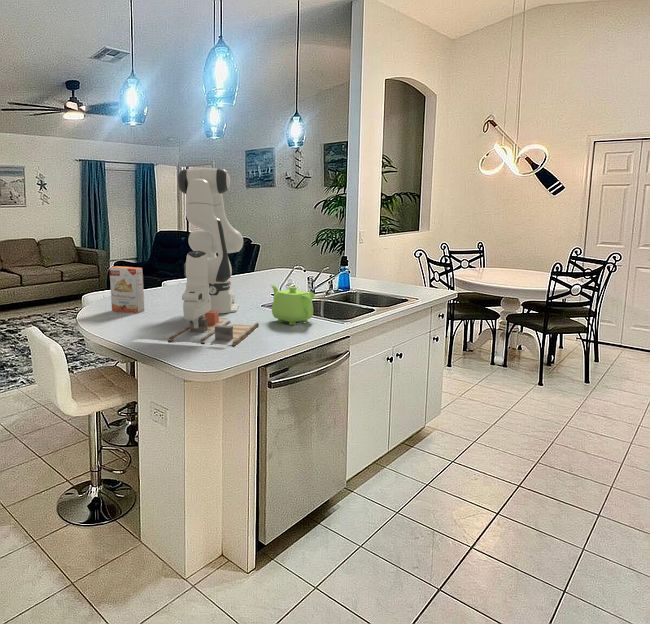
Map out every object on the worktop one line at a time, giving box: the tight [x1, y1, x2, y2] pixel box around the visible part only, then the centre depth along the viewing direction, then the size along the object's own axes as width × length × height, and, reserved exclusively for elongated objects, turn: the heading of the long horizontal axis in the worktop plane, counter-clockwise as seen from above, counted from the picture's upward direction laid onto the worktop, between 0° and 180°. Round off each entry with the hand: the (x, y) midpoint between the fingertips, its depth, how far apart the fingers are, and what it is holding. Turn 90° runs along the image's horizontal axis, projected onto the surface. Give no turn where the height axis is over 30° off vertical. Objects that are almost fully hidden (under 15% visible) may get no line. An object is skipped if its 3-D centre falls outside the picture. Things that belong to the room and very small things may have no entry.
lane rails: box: [168, 320, 260, 347], centre depth 219 cm, size 32×26×2 cm
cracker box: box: [109, 265, 145, 314], centre depth 256 cm, size 14×6×21 cm, turn 76°
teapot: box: [270, 284, 316, 326], centre depth 246 cm, size 25×22×16 cm
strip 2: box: [212, 324, 252, 342], centre depth 218 cm, size 26×8×6 cm, turn 171°
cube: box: [204, 310, 220, 325], centre depth 232 cm, size 5×5×5 cm
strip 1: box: [187, 317, 228, 334], centre depth 229 cm, size 26×8×6 cm, turn 171°
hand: (198, 326), depth 219 cm, fingers closed on strip 1, 3 cm apart
